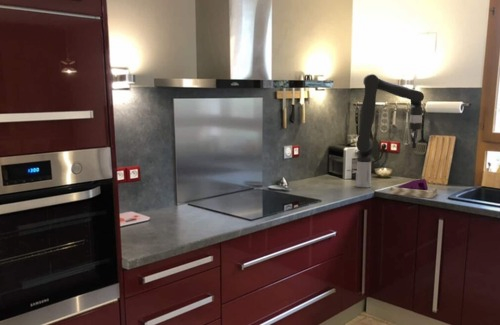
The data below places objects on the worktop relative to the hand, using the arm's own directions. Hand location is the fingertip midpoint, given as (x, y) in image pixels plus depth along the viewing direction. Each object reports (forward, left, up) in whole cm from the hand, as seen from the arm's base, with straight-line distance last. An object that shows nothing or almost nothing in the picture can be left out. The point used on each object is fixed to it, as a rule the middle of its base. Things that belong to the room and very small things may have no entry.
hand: (414, 148), depth 297 cm
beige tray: (+5, -20, -27) cm, 33 cm away
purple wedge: (+2, -16, -27) cm, 32 cm away
